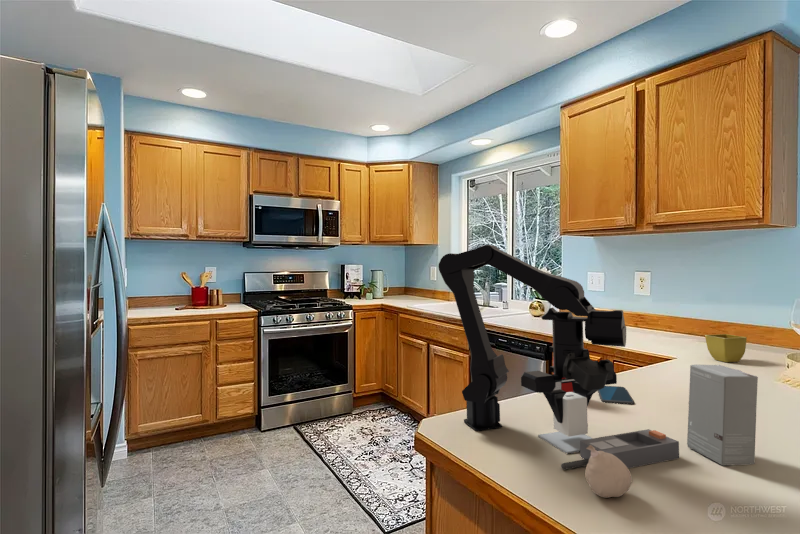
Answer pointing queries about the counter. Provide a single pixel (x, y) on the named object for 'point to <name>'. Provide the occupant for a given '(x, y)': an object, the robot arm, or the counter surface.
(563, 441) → the mat
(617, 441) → the power strip
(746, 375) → the skincare box
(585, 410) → the block
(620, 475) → the garlic bulb
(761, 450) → the counter surface
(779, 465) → the counter surface
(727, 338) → the flower pot
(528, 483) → the counter surface
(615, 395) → the smartphone
